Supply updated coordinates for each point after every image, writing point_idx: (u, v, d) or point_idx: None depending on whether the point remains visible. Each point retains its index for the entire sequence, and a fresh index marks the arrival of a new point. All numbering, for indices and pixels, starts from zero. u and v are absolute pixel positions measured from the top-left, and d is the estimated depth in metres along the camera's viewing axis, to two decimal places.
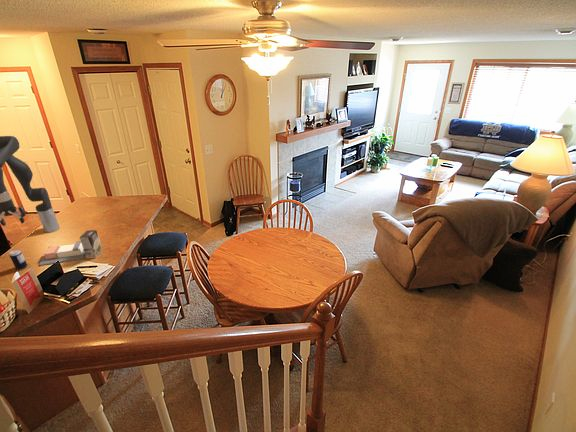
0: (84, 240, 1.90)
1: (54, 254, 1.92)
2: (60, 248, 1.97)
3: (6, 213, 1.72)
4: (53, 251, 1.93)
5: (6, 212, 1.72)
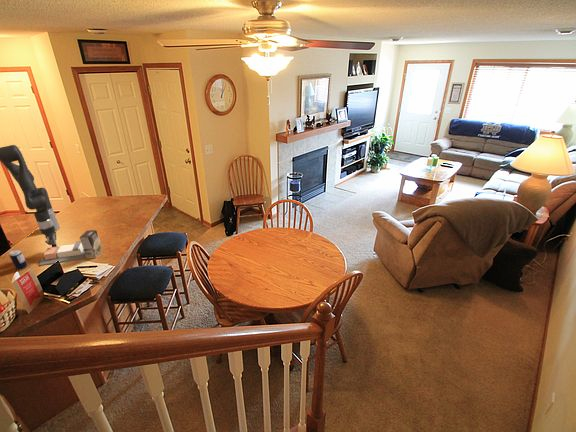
0: (84, 240, 1.90)
1: (54, 255, 1.92)
2: (60, 248, 1.97)
3: None
4: (53, 252, 1.92)
5: None
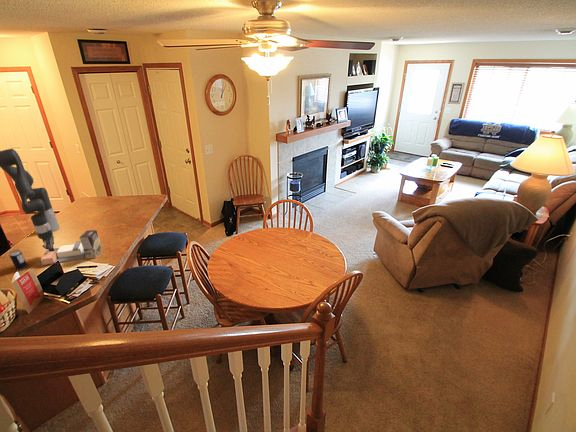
0: (84, 240, 1.90)
1: (51, 259, 1.87)
2: (60, 248, 1.97)
3: None
4: (50, 256, 1.88)
5: None
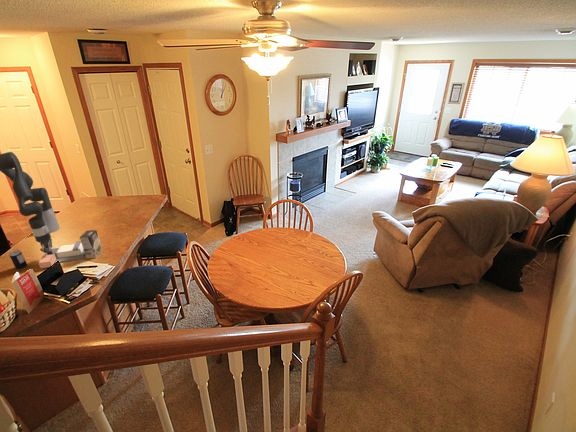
0: (84, 240, 1.90)
1: (49, 263, 1.84)
2: (60, 248, 1.97)
3: None
4: (48, 260, 1.85)
5: None
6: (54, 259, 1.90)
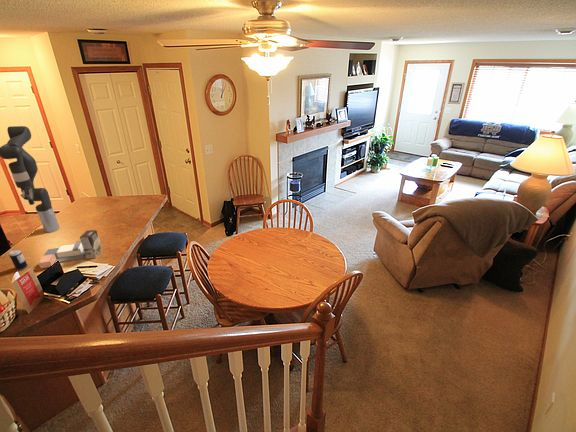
0: (84, 240, 1.90)
1: (49, 263, 1.84)
2: (60, 248, 1.97)
3: None
4: (48, 260, 1.85)
5: None
6: (54, 259, 1.90)
